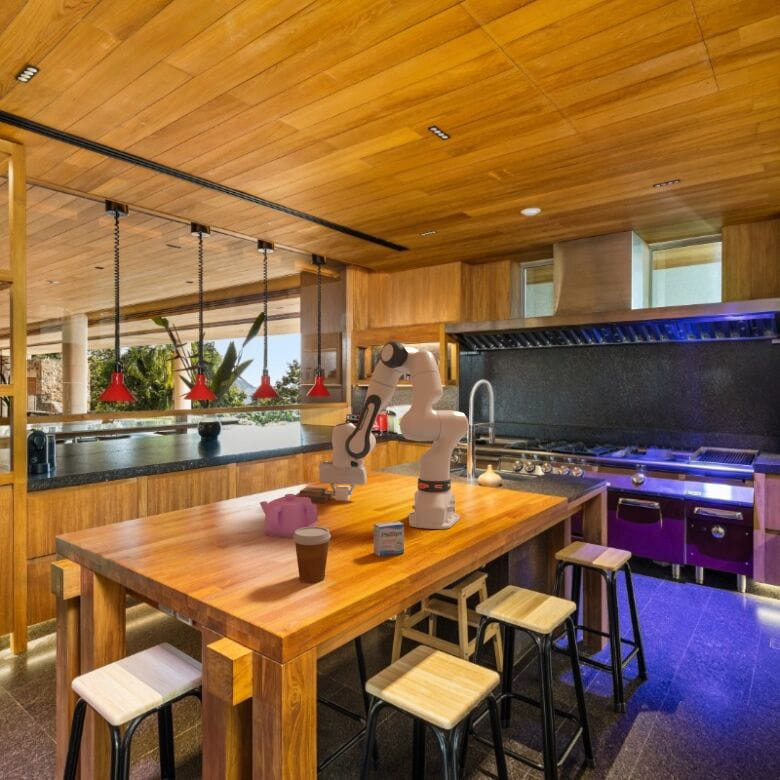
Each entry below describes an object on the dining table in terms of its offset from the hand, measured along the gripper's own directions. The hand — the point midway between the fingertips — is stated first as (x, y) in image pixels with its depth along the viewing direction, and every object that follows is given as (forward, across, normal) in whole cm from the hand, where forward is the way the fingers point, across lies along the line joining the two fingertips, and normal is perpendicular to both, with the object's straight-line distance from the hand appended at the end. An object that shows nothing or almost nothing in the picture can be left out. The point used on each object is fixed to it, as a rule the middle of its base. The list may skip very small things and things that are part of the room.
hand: (342, 494), depth 223 cm
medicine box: (+2, +33, -63) cm, 71 cm away
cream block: (+2, 0, 0) cm, 2 cm away
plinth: (+2, -12, -2) cm, 12 cm away
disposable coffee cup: (+2, +18, -86) cm, 88 cm away
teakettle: (+2, -4, -48) cm, 48 cm away
